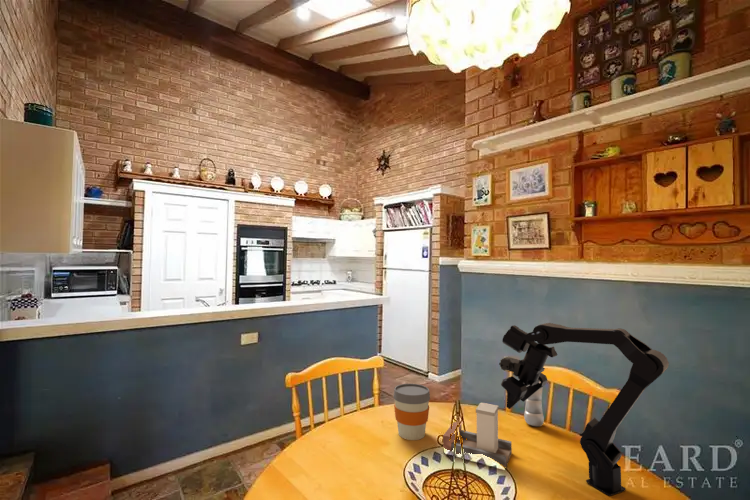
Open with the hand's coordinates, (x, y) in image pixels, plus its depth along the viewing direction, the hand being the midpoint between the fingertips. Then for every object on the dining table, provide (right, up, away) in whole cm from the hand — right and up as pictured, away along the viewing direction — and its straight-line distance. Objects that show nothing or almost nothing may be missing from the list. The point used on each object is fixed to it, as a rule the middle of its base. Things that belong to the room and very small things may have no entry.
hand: (515, 404), depth 112 cm
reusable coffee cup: (-31, -15, +10) cm, 36 cm away
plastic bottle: (+14, -16, +18) cm, 28 cm away
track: (-13, -14, -2) cm, 19 cm away
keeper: (-10, -12, -4) cm, 16 cm away
